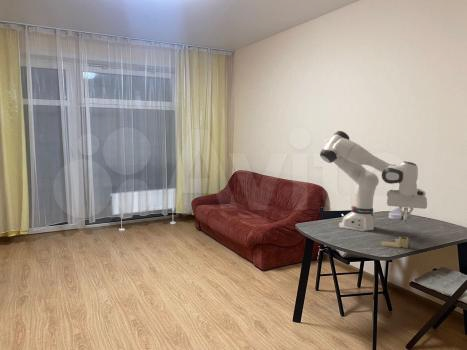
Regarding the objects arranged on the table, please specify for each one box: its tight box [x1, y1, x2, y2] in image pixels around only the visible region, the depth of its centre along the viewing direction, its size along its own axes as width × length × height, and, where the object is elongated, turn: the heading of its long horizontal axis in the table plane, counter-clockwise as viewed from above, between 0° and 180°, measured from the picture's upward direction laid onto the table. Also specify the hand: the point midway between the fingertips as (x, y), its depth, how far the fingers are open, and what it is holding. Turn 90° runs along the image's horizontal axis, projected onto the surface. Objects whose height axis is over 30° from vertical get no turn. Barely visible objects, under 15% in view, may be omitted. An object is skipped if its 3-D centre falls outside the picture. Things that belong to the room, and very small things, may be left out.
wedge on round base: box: [388, 207, 403, 220], centre depth 265 cm, size 9×7×13 cm
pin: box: [402, 207, 409, 223], centre depth 195 cm, size 2×2×8 cm
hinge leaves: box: [381, 236, 409, 249], centre depth 203 cm, size 14×14×5 cm
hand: (405, 214), depth 195 cm, fingers closed on pin, 2 cm apart
